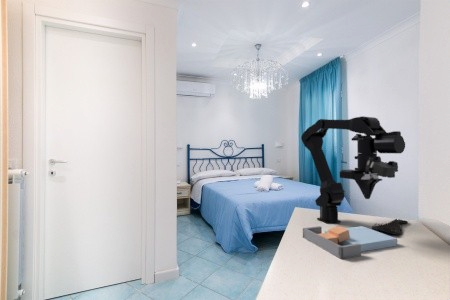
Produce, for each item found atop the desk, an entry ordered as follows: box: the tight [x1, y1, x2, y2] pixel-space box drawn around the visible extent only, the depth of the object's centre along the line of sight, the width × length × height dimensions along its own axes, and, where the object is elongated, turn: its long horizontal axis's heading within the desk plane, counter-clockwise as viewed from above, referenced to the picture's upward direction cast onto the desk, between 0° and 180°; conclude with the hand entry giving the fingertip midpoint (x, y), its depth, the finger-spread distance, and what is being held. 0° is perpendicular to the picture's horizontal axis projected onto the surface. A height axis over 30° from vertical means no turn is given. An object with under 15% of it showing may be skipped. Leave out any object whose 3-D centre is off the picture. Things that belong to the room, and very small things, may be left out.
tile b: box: [318, 232, 338, 244], centre depth 69 cm, size 4×4×2 cm
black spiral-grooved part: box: [371, 218, 408, 236], centre depth 85 cm, size 8×4×25 cm
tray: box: [302, 225, 362, 260], centre depth 69 cm, size 16×7×3 cm, turn 17°
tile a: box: [327, 225, 350, 242], centre depth 70 cm, size 4×4×2 cm
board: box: [324, 225, 398, 252], centre depth 72 cm, size 12×16×2 cm
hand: (367, 198), depth 78 cm, fingers closed
